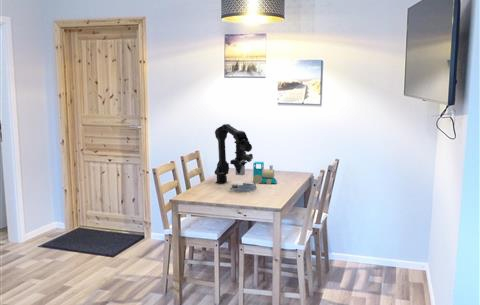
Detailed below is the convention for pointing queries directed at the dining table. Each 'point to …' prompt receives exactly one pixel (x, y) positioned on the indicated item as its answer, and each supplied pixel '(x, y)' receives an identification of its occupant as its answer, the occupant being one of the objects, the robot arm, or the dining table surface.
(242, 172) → the grey block with tab
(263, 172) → the toy train
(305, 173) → the dining table surface
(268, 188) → the dining table surface
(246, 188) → the chassis
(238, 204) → the dining table surface
